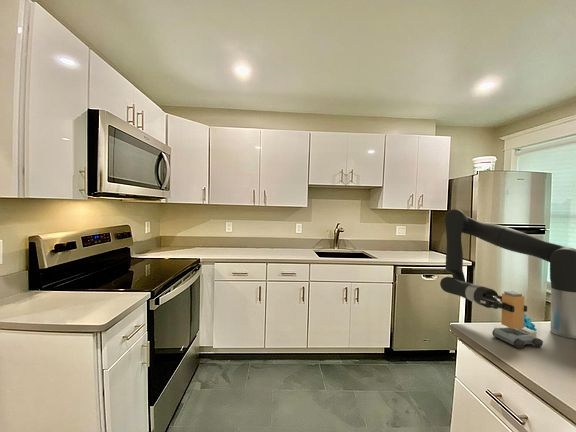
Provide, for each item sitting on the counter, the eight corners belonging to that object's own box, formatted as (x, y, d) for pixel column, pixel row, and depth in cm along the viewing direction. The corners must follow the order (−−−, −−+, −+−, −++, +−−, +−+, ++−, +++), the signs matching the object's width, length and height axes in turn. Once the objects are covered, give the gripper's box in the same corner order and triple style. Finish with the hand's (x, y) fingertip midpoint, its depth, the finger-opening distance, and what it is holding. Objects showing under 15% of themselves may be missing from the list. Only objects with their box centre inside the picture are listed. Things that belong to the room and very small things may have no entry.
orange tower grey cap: (501, 324, 107) (502, 291, 107) (512, 323, 108) (513, 291, 107) (512, 328, 102) (513, 294, 102) (523, 328, 103) (524, 294, 103)
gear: (530, 332, 110) (510, 307, 117) (516, 339, 114) (497, 315, 120) (543, 330, 115) (524, 307, 122) (530, 337, 119) (511, 314, 126)
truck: (517, 335, 111) (517, 324, 111) (543, 347, 101) (543, 334, 101) (491, 337, 109) (491, 325, 109) (515, 349, 99) (515, 336, 99)
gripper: (465, 286, 118) (502, 299, 101) (496, 285, 120) (538, 297, 103) (465, 305, 118) (501, 320, 101) (496, 304, 120) (537, 319, 103)
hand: (519, 309), depth 102 cm, fingers closed on orange tower grey cap, 4 cm apart
